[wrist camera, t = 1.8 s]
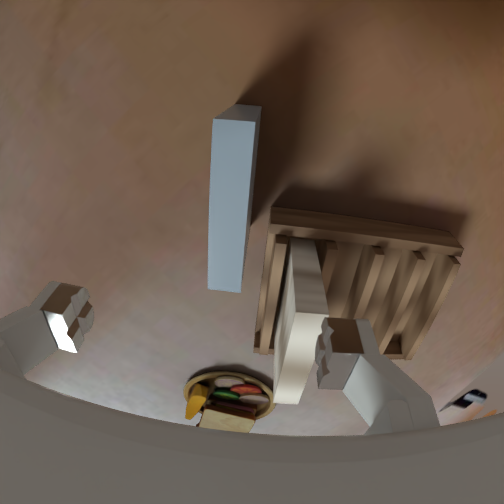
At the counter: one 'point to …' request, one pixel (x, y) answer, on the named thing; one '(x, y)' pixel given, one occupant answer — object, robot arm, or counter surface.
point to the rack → (347, 286)
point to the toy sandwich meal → (227, 400)
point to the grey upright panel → (231, 194)
